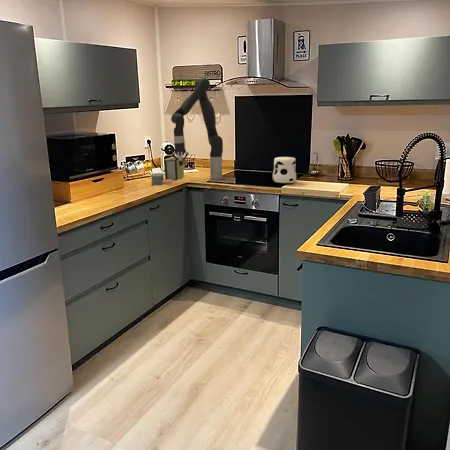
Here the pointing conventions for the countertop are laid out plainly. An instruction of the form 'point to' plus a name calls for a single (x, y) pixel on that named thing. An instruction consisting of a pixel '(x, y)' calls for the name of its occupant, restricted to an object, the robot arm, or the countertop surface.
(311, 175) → the countertop surface
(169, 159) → the protein box
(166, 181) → the shell plate
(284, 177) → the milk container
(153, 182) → the overhang dock
